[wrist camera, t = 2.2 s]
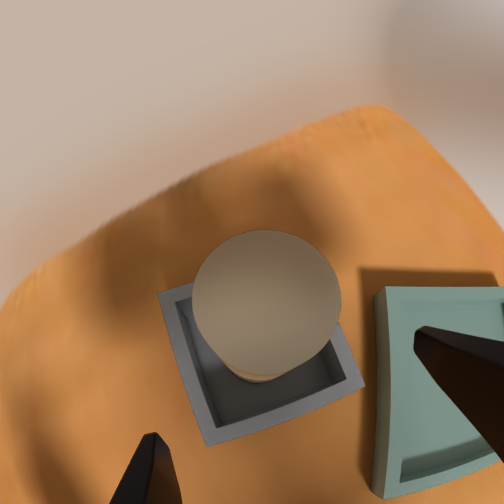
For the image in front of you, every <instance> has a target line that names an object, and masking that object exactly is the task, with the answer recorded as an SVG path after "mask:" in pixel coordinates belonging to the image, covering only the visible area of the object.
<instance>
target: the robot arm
mask: <svg viewBox="0 0 504 504" xmlns="http://www.w3.org/2000/svg"><path fill="white" fill-rule="evenodd" d="M413 350H414V353H415V354H416V356H417V357H418V359H419V360H420V361H421V363H422V364H423V366H424V367H425V368H426V370H427V371H428V373H429V374H430V375H431V377H432V378H433V380H434V381H435V382H436V383H437V385H438V386H439V387H440V388H441V389H442V390H443V392H444V393H445V394H446V395H447V396H448V397H449V398H450V399H451V401H452V402H453V403H454V404H455V405H456V406H457V408H458V409H459V410H460V411H461V412H462V413H463V414H464V416H465V417H466V418H467V419H468V420H469V421H470V423H471V424H472V425H473V426H474V427H475V429H476V430H477V431H478V432H479V433H480V435H481V436H482V437H483V438H484V439H485V441H486V442H487V443H488V444H489V445H490V447H491V448H492V449H493V450H494V452H495V453H496V454H497V455H498V457H499V458H500V459H501V460H502V462H503V463H504V341H498V340H493V339H488V338H483V337H478V336H473V335H468V334H464V333H459V332H454V331H449V330H444V329H440V328H435V327H431V326H422V327H420V328H419V329H417V330H416V331H415V333H414V344H413ZM109 504H182V498H181V492H180V488H179V484H178V480H177V477H176V473H175V469H174V465H173V461H172V457H171V453H170V450H169V447H168V446H167V444H166V443H165V442H164V441H163V439H162V438H161V437H160V436H159V434H158V433H156V432H153V433H148V434H145V435H144V436H143V437H142V439H141V441H140V443H139V445H138V447H137V449H136V451H135V453H134V455H133V457H132V459H131V461H130V463H129V465H128V467H127V469H126V471H125V473H124V475H123V477H122V479H121V481H120V483H119V485H118V487H117V489H116V491H115V493H114V495H113V497H112V499H111V501H110V503H109Z"/></svg>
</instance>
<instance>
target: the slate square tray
mask: <svg viewBox="0 0 504 504" xmlns="http://www.w3.org/2000/svg"><path fill="white" fill-rule="evenodd" d="M193 286H194V282H191V283H188V284H185V285H182V286H179V287H175V288H172V289H169V290H166V291H163V292H160V293H157V294H158V298H159V301H160V305H161V309H162V313H163V317H164V320H165V324H166V328H167V331H168V335H169V338H170V342H171V345H172V349H173V352H174V355H175V359H176V362H177V365H178V368H179V371H180V374H181V378H182V381H183V384H184V387H185V390H186V393H187V396H188V398H189V401H190V404H191V407H192V410H193V413H194V415H195V418H196V421H197V424H198V426H199V429H200V431H201V434H202V437H203V439H204V442H205V444H206V447H208V446H212V445H216V444H219V443H223V442H226V441H230V440H233V439H236V438H240V437H243V436H246V435H249V434H252V433H255V432H258V431H261V430H264V429H267V428H270V427H272V426H275V425H278V424H281V423H283V422H286V421H288V420H291V419H294V418H296V417H299V416H301V415H304V414H306V413H308V412H311V411H313V410H315V409H318V408H320V407H322V406H325V405H327V404H329V403H331V402H333V401H336V400H338V399H340V398H342V397H344V396H346V395H348V394H350V393H352V392H354V391H356V390H358V389H360V388H362V387H364V386H365V383H364V381H363V378H362V376H361V373H360V371H359V369H358V366H357V364H356V362H355V359H354V357H353V354H352V352H351V350H350V347H349V345H348V343H347V340H346V338H345V336H344V333H343V331H342V329H341V327H340V324H339V322H338V323H337V326H336V328H335V330H334V333H333V335H332V336H331V338H330V339H329V341H328V342H327V344H326V345H325V346H324V347H323V348H322V349H321V350H320V351H319V352H318V353H317V354H316V355H315V356H313V357H312V358H310V359H309V360H307V361H306V362H304V363H302V364H301V365H299V366H297V367H295V368H293V369H292V370H290V371H288V372H286V373H284V374H283V375H281V376H279V377H277V378H275V379H273V380H271V381H269V382H265V383H250V382H246V381H244V380H242V379H240V378H238V377H237V376H236V375H235V374H234V373H233V372H232V371H231V370H230V369H229V368H228V367H227V366H226V365H225V363H224V362H223V361H222V360H221V359H220V358H219V356H218V355H217V354H216V353H215V352H214V351H213V349H212V348H211V347H210V346H209V345H208V343H207V342H206V341H205V339H204V338H203V336H202V334H201V333H200V331H199V329H198V327H197V324H196V321H195V318H194V314H193V308H192V291H193Z"/></svg>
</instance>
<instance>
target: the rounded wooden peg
mask: <svg viewBox="0 0 504 504" xmlns="http://www.w3.org/2000/svg"><path fill="white" fill-rule="evenodd" d="M192 308H193V314H194V318H195V321H196V324H197V327H198V329H199V331H200V333H201V334H202V336H203V338H204V339H205V341H206V342H207V343H208V345H209V346H210V347H211V348H212V349H213V351H214V352H215V353H216V354H217V355H218V356H219V358H220V359H221V360H222V361H223V362H224V363H225V365H226V366H227V367H228V368H229V369H230V370H231V371H232V372H233V373H234V374H235V375H236V376H237V377H238V378H240V379H242V380H244V381H246V382H250V383H265V382H269V381H271V380H273V379H275V378H277V377H279V376H281V375H283V374H284V373H286V372H288V371H290V370H292V369H293V368H295V367H297V366H299V365H301V364H302V363H304V362H306V361H307V360H309V359H310V358H312V357H313V356H315V355H316V354H317V353H318V352H319V351H320V350H321V349H322V348H323V347H324V346H325V345H326V344H327V342H328V341H329V339H330V338H331V336H332V335H333V333H334V330H335V328H336V326H337V323H338V320H339V316H340V310H341V293H340V287H339V283H338V280H337V277H336V275H335V272H334V270H333V268H332V267H331V265H330V263H329V262H328V261H327V259H326V258H325V257H324V256H323V255H322V253H321V252H320V251H319V250H318V249H316V248H315V247H314V246H313V245H311V244H310V243H308V242H307V241H305V240H304V239H302V238H299V237H297V236H295V235H292V234H289V233H286V232H282V231H276V230H255V231H249V232H245V233H242V234H239V235H236V236H234V237H232V238H230V239H228V240H226V241H225V242H223V243H222V244H220V245H219V246H218V247H217V248H215V249H214V250H213V251H212V252H211V253H210V254H209V256H208V257H207V258H206V259H205V261H204V262H203V264H202V265H201V267H200V269H199V271H198V273H197V276H196V278H195V281H194V286H193V291H192Z"/></svg>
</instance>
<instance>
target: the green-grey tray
mask: <svg viewBox="0 0 504 504" xmlns="http://www.w3.org/2000/svg"><path fill="white" fill-rule="evenodd" d="M373 299H374V313H375V330H376V356H377V409H376V434H375V450H374V463H373V473H372V483H371V492H372V493H374V494H375V495H377V496H378V497H380V498H381V499H382V500H385V499H390V498H394V497H399V496H403V495H407V494H411V493H414V492H418V491H421V490H425V489H428V488H432V487H435V486H438V485H441V484H444V483H447V482H450V481H453V480H455V479H458V478H461V477H463V476H466V475H468V474H471V473H473V472H476V471H478V470H481V469H483V468H485V467H487V466H490V465H492V464H494V463H496V462H498V461H500V460H501V459H500V458H499V457H498V455H497V454H496V453H495V452H494V450H493V449H492V448H491V447H490V445H489V444H488V443H487V442H486V441H485V439H484V438H483V437H482V436H481V435H480V433H479V432H478V431H477V430H476V429H475V427H474V426H473V425H472V424H471V423H470V421H469V420H468V419H467V418H466V417H465V416H464V414H463V413H462V412H461V411H460V410H459V409H458V408H457V406H456V405H455V404H454V403H453V402H452V401H451V399H450V398H449V397H448V396H447V395H446V394H445V393H444V392H443V390H442V389H441V388H440V387H439V386H438V385H437V383H436V382H435V381H434V380H433V378H432V377H431V375H430V374H429V373H428V371H427V370H426V368H425V367H424V366H423V364H422V363H421V361H420V360H419V359H418V357H417V356H416V354H415V353H414V350H413V344H414V333H415V331H416V330H417V329H419V328H420V327H422V326H431V327H435V328H440V329H444V330H449V331H454V332H459V333H464V334H468V335H473V336H478V337H483V338H488V339H493V340H498V341H504V287H401V286H385V287H384V288H383V289H382V290H381V291H379V292H378V293H377V294H376V295H375V296H374V297H373Z"/></svg>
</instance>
